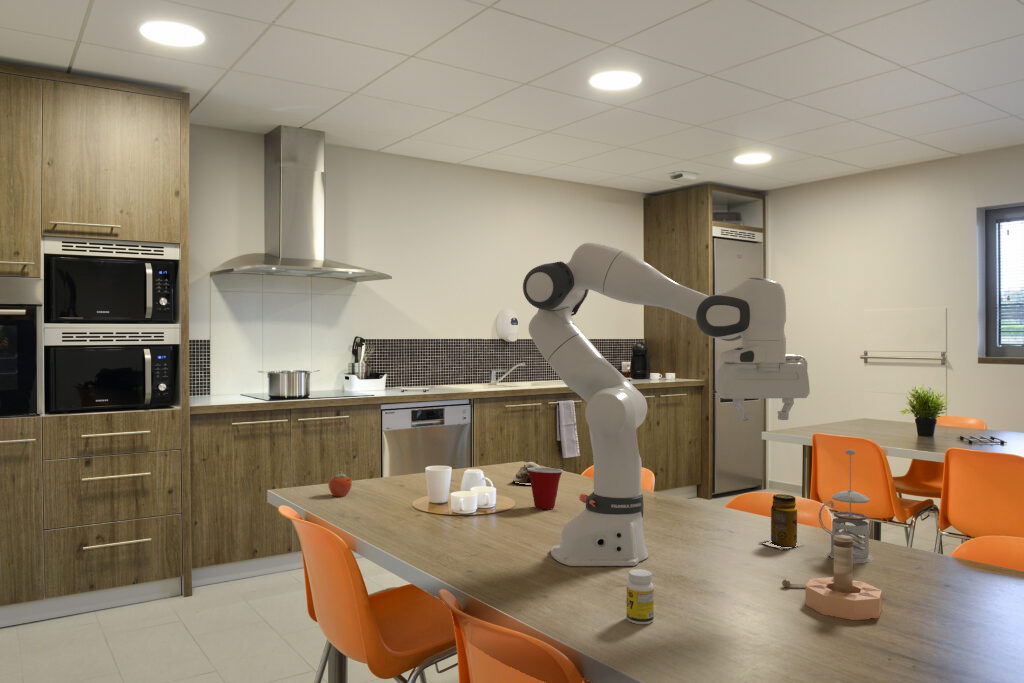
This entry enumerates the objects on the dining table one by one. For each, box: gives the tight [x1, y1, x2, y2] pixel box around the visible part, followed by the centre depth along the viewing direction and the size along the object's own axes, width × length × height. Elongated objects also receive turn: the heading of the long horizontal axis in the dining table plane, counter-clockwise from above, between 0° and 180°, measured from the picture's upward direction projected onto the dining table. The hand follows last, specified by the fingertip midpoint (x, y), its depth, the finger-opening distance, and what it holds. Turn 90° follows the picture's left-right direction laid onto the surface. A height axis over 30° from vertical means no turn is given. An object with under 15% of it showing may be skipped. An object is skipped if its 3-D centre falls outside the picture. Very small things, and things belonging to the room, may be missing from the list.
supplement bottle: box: [626, 568, 655, 625], centre depth 128 cm, size 5×5×8 cm
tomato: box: [328, 470, 353, 498], centre depth 233 cm, size 7×7×8 cm
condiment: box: [758, 493, 798, 551], centre depth 178 cm, size 7×8×12 cm
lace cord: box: [781, 578, 807, 589], centre depth 146 cm, size 18×2×2 cm, turn 88°
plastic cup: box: [527, 466, 564, 510], centre depth 217 cm, size 11×11×12 cm
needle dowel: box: [833, 535, 854, 594], centre depth 135 cm, size 3×3×13 cm
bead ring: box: [804, 576, 883, 621], centre depth 135 cm, size 12×12×4 cm
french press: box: [818, 448, 874, 564], centre depth 169 cm, size 10×12×25 cm
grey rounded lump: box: [512, 461, 541, 483], centre depth 257 cm, size 12×10×10 cm
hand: (763, 420), depth 153 cm, fingers open, 8 cm apart
